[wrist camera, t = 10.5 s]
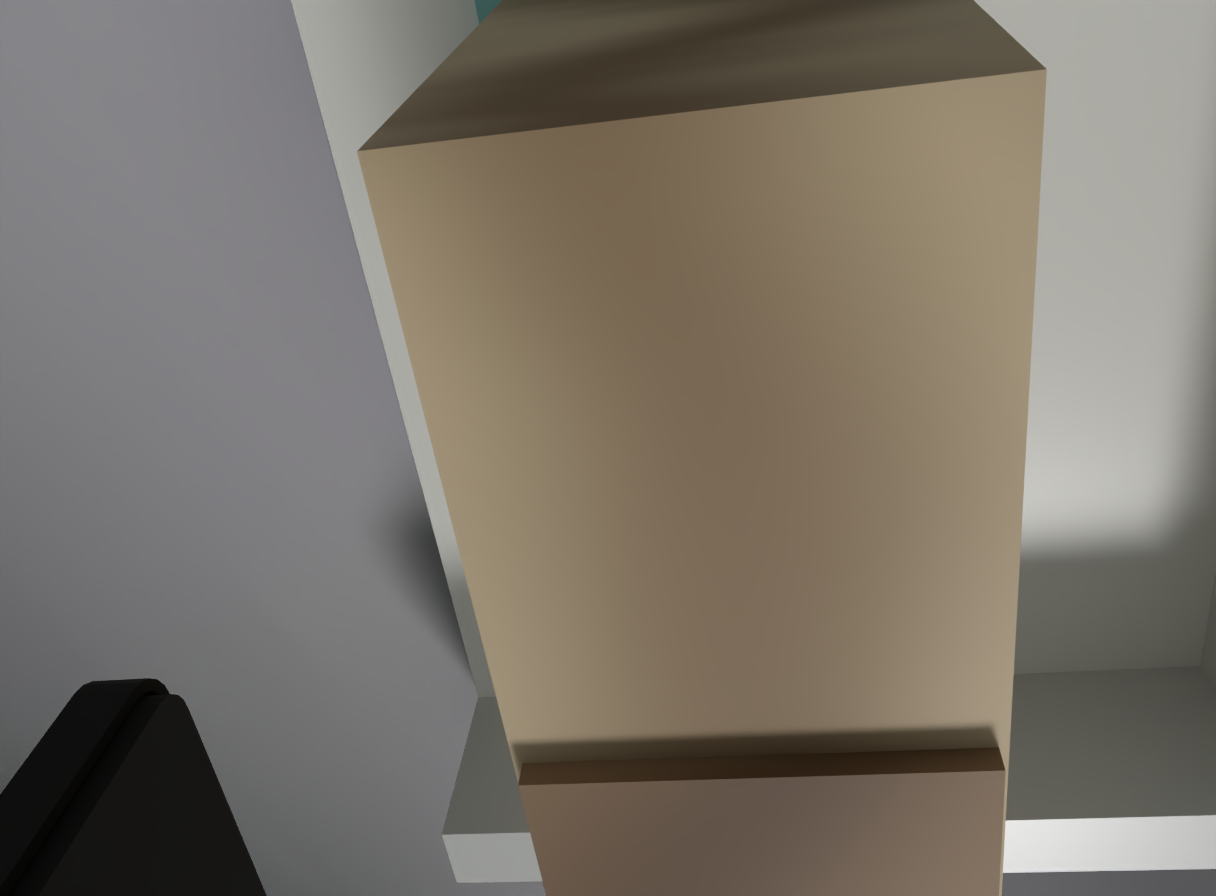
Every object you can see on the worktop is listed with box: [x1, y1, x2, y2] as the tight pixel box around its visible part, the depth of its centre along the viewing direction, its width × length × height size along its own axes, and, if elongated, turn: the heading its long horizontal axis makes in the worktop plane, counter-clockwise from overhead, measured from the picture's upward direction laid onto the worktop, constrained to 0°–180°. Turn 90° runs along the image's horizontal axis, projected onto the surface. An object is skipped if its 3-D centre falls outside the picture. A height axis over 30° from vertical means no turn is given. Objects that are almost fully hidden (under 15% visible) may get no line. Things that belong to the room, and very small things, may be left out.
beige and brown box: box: [357, 0, 1047, 896], centre depth 13 cm, size 5×9×7 cm, turn 8°
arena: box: [291, 0, 1216, 883], centre depth 16 cm, size 15×14×4 cm
